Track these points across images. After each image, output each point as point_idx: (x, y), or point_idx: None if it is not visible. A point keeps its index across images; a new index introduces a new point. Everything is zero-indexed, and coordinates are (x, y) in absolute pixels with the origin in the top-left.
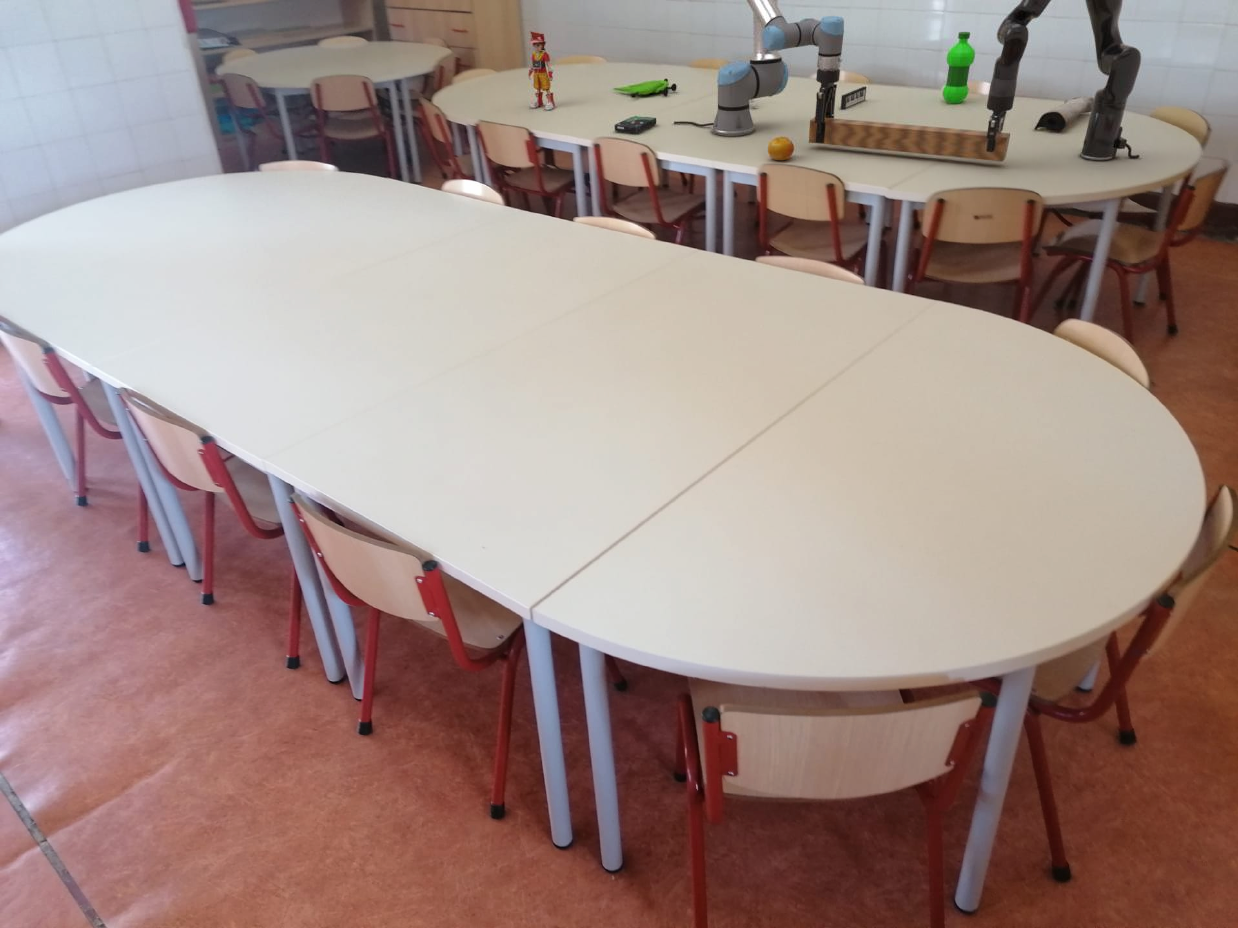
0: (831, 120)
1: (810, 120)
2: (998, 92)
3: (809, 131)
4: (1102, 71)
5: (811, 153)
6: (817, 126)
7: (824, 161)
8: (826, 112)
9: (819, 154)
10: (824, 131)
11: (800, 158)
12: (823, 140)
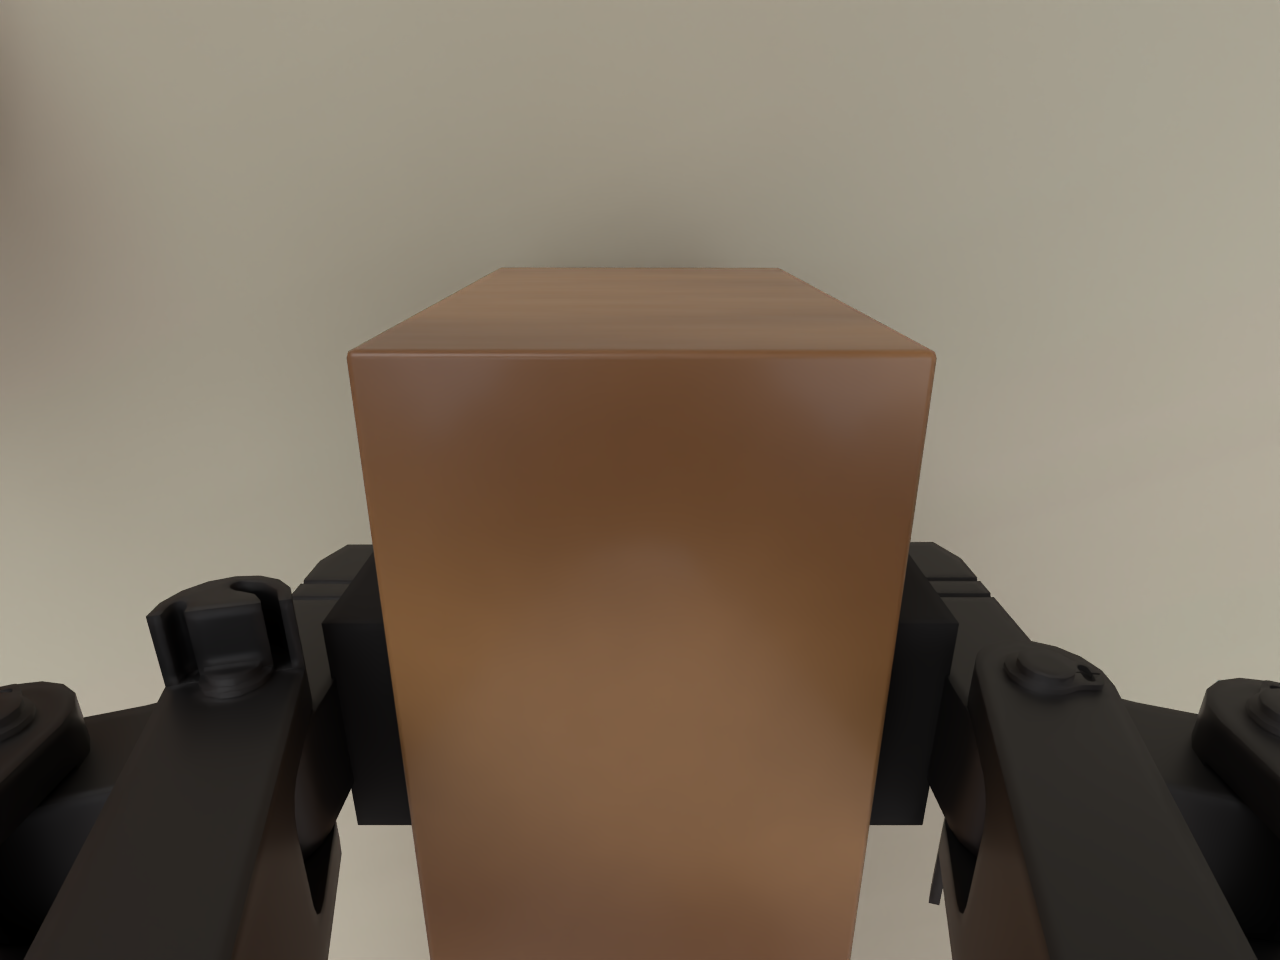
0: (612, 945)
1: (357, 366)
2: None
3: (451, 298)
4: None
5: (345, 385)
6: (364, 586)
7: (97, 669)
8: (996, 865)
9: (355, 510)
10: None
11: (13, 321)
12: None
